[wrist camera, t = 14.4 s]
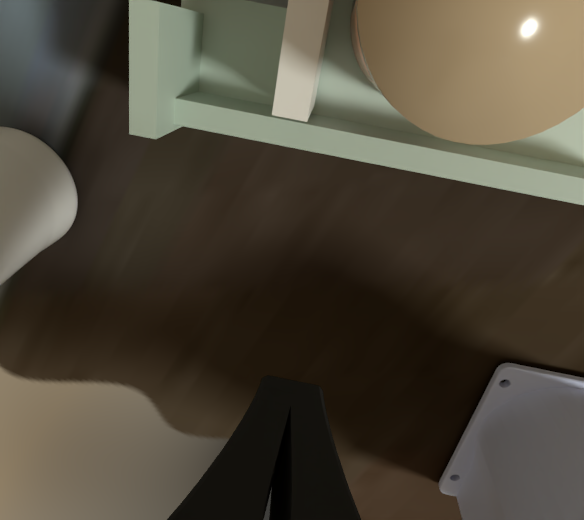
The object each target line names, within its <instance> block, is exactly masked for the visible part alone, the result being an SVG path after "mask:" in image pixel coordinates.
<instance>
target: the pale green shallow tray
mask: <svg viewBox="0 0 584 520" xmlns="http://www.w3.org/2000/svg"><path fill="white" fill-rule="evenodd" d="M352 4H353V0H334V3H333V8H332V13H331V19H330V24H329V29H328V35H327V40H326V45H325V51H324V56H323V62H322V67H321V72H320V78H319V83H318V88H317V94H316V99H315V104H314V108H313V110H312V112H311V114H310V116H309V119H308V121H307V122H305V121H299V120H294V119H289V118H284V117H279V116H274V115H272V110H273V103H274V96H275V89H276V82H277V75H278V68H279V61H280V54H281V48H282V41H283V34H284V27H285V20H286V13H287V8H283V7H277V6H272V5H267V4H262V3H257V2H252V1H246V0H181V7H177V6H173V5H169V4H165V3H162V2H157V1H152V0H129V134H132V135H137V136H142V137H147V138H152V139H158V138H160V137H162V136H164V135H166V134H168V133H170V132H172V131H174V130H176V129H178V128H180V127H182V126H185V127H190V128H195V129H200V130H205V131H210V132H216V133H221V134H226V135H231V136H236V137H241V138H246V139H251V140H256V141H261V142H266V143H271V144H276V145H281V146H286V147H291V148H297V149H302V150H307V151H312V152H317V153H322V154H327V155H332V156H337V157H342V158H347V159H352V160H357V161H362V162H367V163H372V164H378V165H383V166H388V167H393V168H398V169H403V170H408V171H413V172H418V173H423V174H428V175H433V176H438V177H443V178H448V179H453V180H459V181H464V182H469V183H474V184H479V185H484V186H489V187H494V188H499V189H504V190H509V191H514V192H519V193H524V194H529V195H534V196H540V197H545V198H550V199H555V200H560V201H565V202H570V203H575V204H580V205H584V108H583V109H581V110H580V111H579V112H577V113H576V114H574V115H573V116H571V117H569V118H568V119H566V120H565V121H563V122H561V123H560V124H558V125H556V126H554V127H552V128H550V129H547V130H545V131H543V132H541V133H538V134H536V135H533V136H530V137H527V138H524V139H520V140H516V141H512V142H507V143H500V144H490V145H474V144H464V143H458V142H452V141H449V140H446V139H443V138H439V137H437V136H434V135H432V134H430V133H428V132H426V131H424V130H422V129H420V128H419V127H417V126H416V125H414V124H413V123H411V122H410V121H408V120H407V119H406V118H405V117H404V116H403V115H401V114H400V113H399V112H398V111H397V110H396V109H395V108H394V107H392V106H391V105H390V103H389V102H388V101H387V100H386V99H385V97H384V96H383V95H382V94H381V92H380V91H378V90H377V89H376V88H375V87H374V86H373V85H372V84H371V83H370V82H369V81H368V79H367V78H366V77H365V75H364V74H363V72H362V71H361V69H360V67H359V65H358V63H357V60H356V58H355V55H354V51H353V48H352V42H351V34H350V19H351V10H352Z"/></svg>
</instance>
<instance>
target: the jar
mask: <svg viewBox="0 0 584 520" xmlns="http://www.w3.org/2000/svg"><path fill="white" fill-rule="evenodd" d="M350 34H351V42H352V48H353V51H354V55H355V58H356V60H357V63H358V65H359V67H360V69H361V71H362V72H363V74H364V75H365V77H366V78H367V79H368V81H369V82H370V83H371V84H372V85H373V86H374V87H375V88H376V89H377V90H378V91H380V92H381V94H382V95H383V96H384V97H385V99H386V100H387V101H388V102H389V103H390V105H391V106H392V107H394V108H395V109H396V110H397V111H398V112H399V113H400V114H401V115H403V116H404V117H405V118H406V119H407V120H408V121H410V122H411V123H413V124H414V125H416V126H417V127H419V128H420V129H422V130H424V131H426V132H428V133H430V134H432V135H434V136H437V137H439V138H443V139H446V140H449V141H452V142H458V143H464V144H474V145H490V144H500V143H507V142H512V141H516V140H520V139H524V138H527V137H530V136H533V135H536V134H538V133H541V132H543V131H545V130H547V129H550V128H552V127H554V126H556V125H558V124H560V123H561V122H563V121H565V120H566V119H568V118H569V117H571V116H573V115H574V114H576V113H577V112H579V111H580V110H581V109H583V108H584V0H353V4H352V10H351V19H350Z"/></svg>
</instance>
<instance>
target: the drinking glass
mask: <svg viewBox="0 0 584 520" xmlns="http://www.w3.org/2000/svg"><path fill="white" fill-rule="evenodd" d="M77 208H78V197H77V190H76V186H75V183H74V180H73V178H72V175H71V173H70V171H69V170H68V168H67V166H66V165H65V163H64V162H63V161H62V159H61V158H60V157H59V156H58V155H57V153H56V152H55V151H54V150H53V149H51V148H50V147H49V146H48V145H47V144H45V143H44V142H43V141H41V140H40V139H38V138H36V137H35V136H33V135H31V134H29V133H26V132H24V131H21V130H18V129H15V128H10V127H1V126H0V286H1V285H2V284H3V283H4V282H5V281H7V280H8V279H9V278H10V277H11V276H12V275H14V274H15V273H16V272H17V271H18V270H20V269H21V268H22V267H23V266H24V265H25V264H27V263H28V262H29V261H30V260H31V259H33V258H34V257H35V256H36V255H37V254H39V253H40V252H42V251H43V250H45V249H46V248H47V247H49V246H50V245H52V244H53V243H55V242H56V241H58V240H59V239H60V238H61V237H63V236H64V235H65V234H66V233H67V232H68V230H69V229H70V228H71V226H72V224H73V222H74V220H75V217H76V213H77Z"/></svg>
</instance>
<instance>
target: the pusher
mask: <svg viewBox="0 0 584 520" xmlns="http://www.w3.org/2000/svg"><path fill="white" fill-rule="evenodd" d="M246 1H252V2H257V3H262V4H267V5H272V6H277V7H283V8H287V13H286V20H285V27H284V34H283V41H282V48H281V54H280V61H279V68H278V75H277V82H276V89H275V96H274V103H273V110H272V115H274V116H279V117H284V118H289V119H294V120H299V121H305V122H307V121H308V119H309V116H310V114H311V112H312V110H313V108H314V104H315V99H316V94H317V88H318V83H319V78H320V72H321V67H322V62H323V56H324V51H325V45H326V40H327V35H328V29H329V24H330V19H331V13H332V8H333V3H334V0H246Z"/></svg>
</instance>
